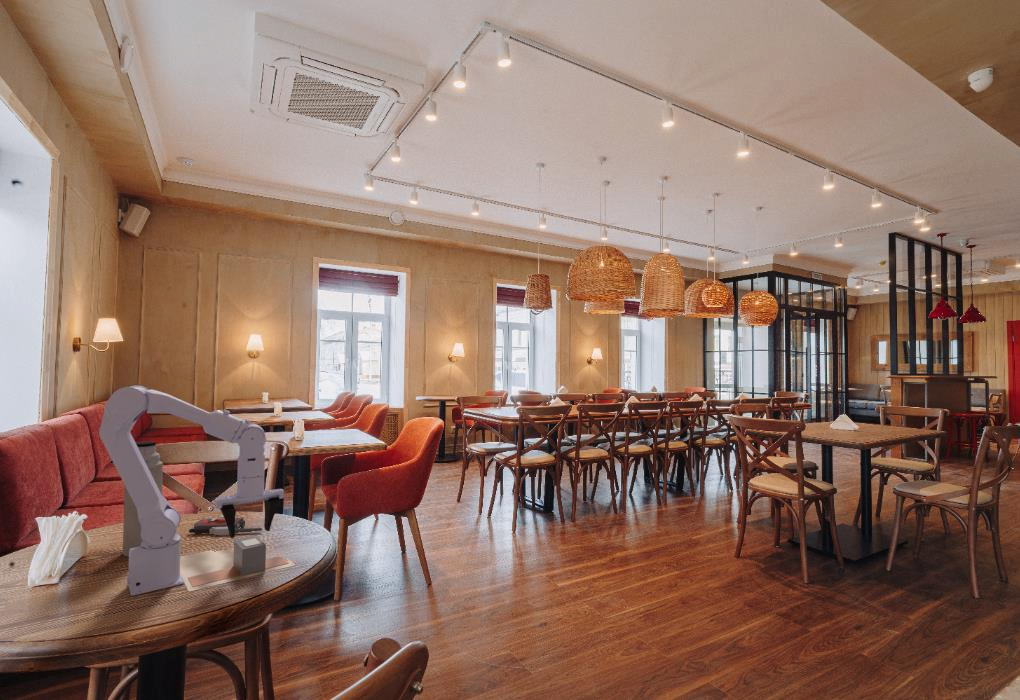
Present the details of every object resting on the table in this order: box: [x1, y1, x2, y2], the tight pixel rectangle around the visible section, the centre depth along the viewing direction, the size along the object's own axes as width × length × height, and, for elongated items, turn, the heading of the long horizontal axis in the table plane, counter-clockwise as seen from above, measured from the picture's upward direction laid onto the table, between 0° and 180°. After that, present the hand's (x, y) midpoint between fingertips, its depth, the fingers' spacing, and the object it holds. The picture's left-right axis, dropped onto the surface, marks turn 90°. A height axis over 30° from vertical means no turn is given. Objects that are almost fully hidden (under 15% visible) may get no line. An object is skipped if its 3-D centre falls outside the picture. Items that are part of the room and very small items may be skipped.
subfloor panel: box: [180, 545, 296, 593], centre depth 124 cm, size 22×24×1 cm
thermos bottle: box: [122, 440, 164, 558], centre depth 131 cm, size 8×8×28 cm
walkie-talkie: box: [188, 514, 263, 536], centre depth 147 cm, size 9×4×20 cm
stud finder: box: [233, 535, 266, 576], centre depth 120 cm, size 5×8×6 cm, turn 41°
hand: (249, 533), depth 120 cm, fingers open, 7 cm apart
